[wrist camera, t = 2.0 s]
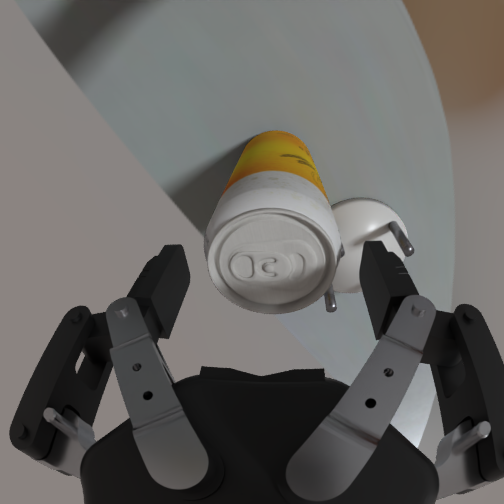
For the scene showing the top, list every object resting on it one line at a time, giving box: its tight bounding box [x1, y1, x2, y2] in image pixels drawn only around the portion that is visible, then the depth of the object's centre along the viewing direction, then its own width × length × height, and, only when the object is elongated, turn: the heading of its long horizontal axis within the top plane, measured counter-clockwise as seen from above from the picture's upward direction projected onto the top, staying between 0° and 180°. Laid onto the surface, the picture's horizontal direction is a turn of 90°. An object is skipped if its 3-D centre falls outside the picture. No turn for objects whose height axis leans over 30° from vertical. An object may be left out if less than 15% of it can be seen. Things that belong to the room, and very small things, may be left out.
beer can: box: [204, 131, 342, 314], centre depth 17 cm, size 6×6×15 cm
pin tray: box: [324, 198, 414, 312], centre depth 25 cm, size 11×11×6 cm
